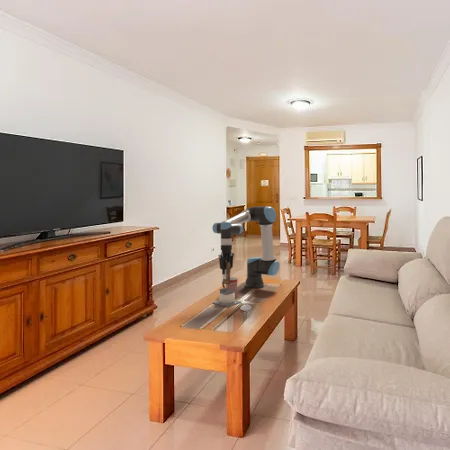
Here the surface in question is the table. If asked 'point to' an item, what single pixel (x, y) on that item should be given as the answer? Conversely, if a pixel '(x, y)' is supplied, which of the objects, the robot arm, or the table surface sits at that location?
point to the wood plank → (227, 274)
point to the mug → (232, 285)
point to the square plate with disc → (226, 298)
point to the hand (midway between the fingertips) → (226, 278)
